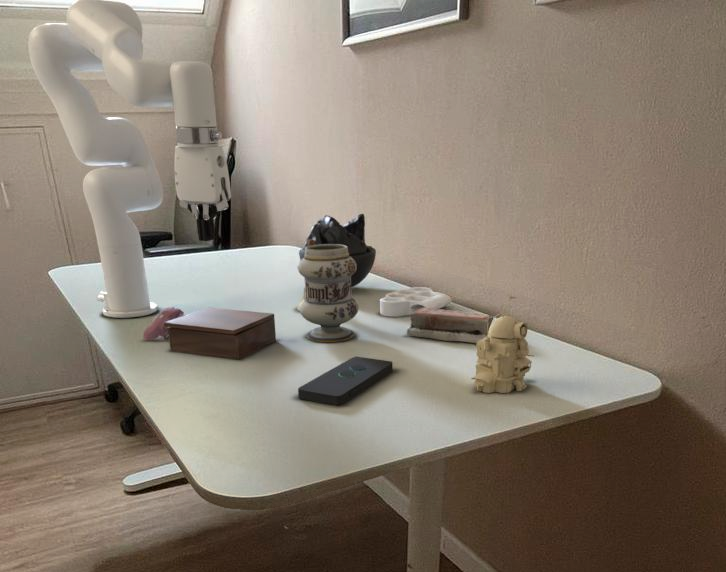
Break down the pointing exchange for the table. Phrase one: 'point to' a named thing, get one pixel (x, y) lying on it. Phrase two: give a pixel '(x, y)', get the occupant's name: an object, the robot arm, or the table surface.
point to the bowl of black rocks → (345, 242)
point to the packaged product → (449, 325)
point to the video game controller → (161, 323)
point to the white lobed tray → (412, 301)
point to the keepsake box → (222, 341)
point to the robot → (503, 356)
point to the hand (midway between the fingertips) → (206, 239)
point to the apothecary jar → (328, 291)
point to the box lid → (219, 320)
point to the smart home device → (345, 380)
